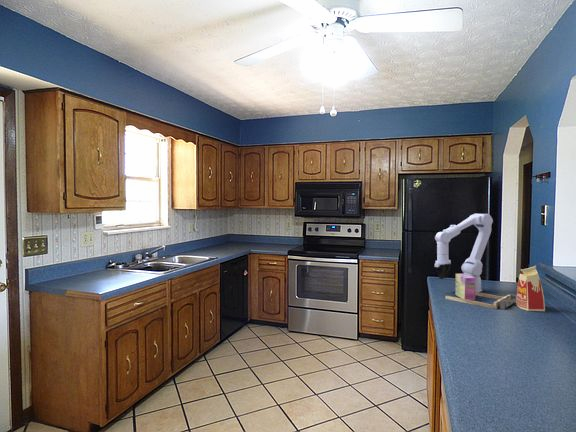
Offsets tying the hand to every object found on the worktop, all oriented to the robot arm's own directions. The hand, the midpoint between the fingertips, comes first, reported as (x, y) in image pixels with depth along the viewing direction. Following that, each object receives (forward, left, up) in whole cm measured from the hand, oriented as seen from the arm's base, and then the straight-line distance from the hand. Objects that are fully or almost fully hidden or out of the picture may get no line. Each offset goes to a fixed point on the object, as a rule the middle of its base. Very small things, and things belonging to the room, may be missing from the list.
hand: (442, 278), depth 192 cm
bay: (0, +20, -8) cm, 21 cm away
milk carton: (-3, +40, -9) cm, 41 cm away
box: (0, +12, -9) cm, 15 cm away
